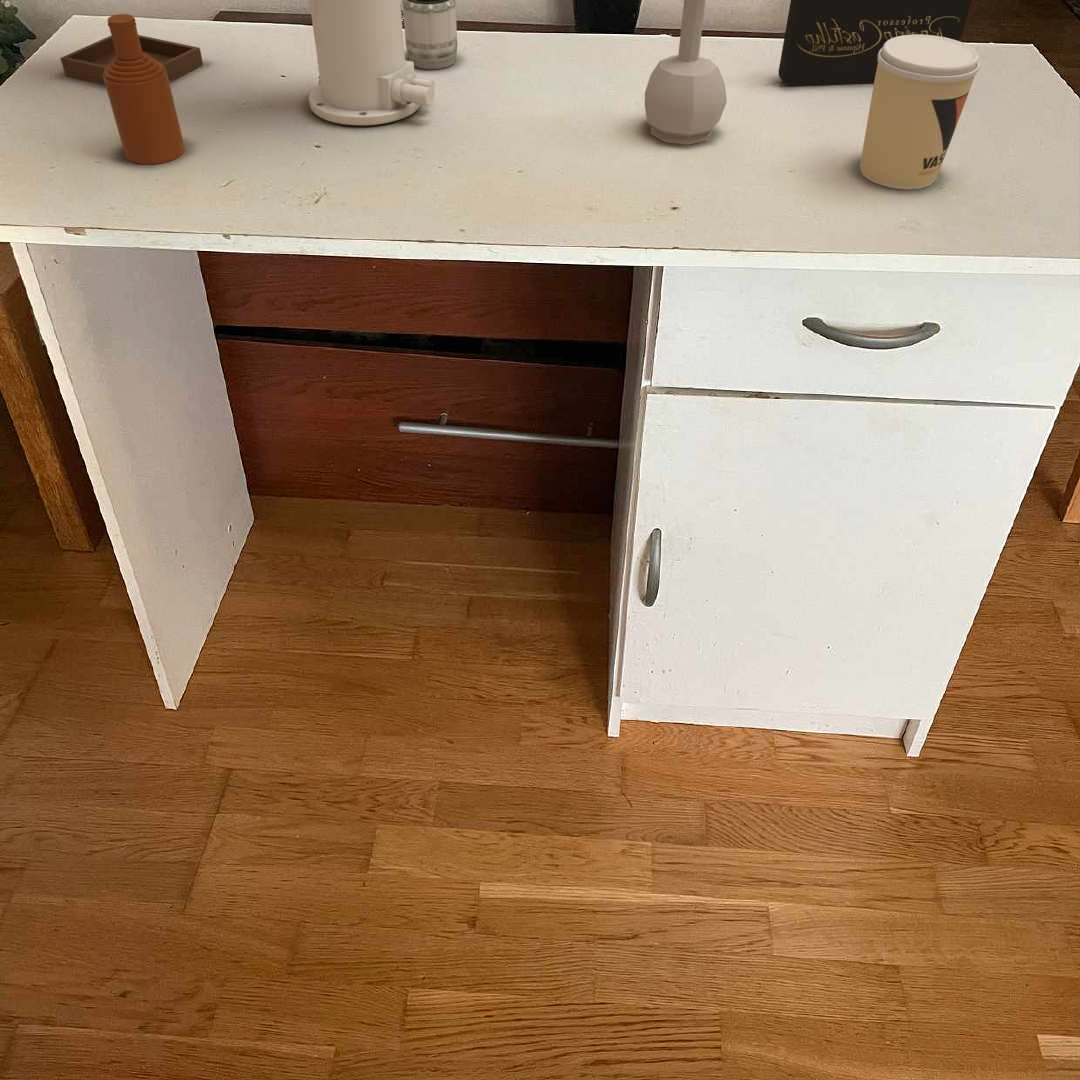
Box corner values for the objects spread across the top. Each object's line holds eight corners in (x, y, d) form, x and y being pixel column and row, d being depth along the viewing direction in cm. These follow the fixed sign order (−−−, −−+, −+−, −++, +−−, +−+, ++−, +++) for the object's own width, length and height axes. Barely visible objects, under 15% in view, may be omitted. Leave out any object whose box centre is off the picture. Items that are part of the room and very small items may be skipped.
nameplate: (942, 74, 124) (967, -16, 116) (948, 80, 122) (975, -11, 115) (776, 80, 121) (792, -11, 114) (781, 86, 120) (797, -5, 113)
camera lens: (456, 51, 127) (453, -18, 121) (459, 69, 123) (457, -1, 117) (405, 52, 126) (400, -17, 121) (407, 71, 122) (402, 0, 116)
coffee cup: (929, 202, 100) (967, 76, 91) (838, 178, 103) (866, 55, 95) (955, 167, 105) (993, 45, 97) (868, 145, 109) (898, 26, 100)
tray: (203, 64, 123) (199, 47, 121) (146, 94, 116) (141, 76, 115) (125, 48, 126) (120, 30, 125) (65, 75, 120) (59, 57, 118)
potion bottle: (730, 123, 112) (756, -60, 100) (705, 154, 107) (729, -35, 94) (656, 109, 115) (672, -71, 102) (627, 138, 109) (641, -48, 97)
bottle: (196, 146, 107) (166, 13, 97) (159, 169, 103) (123, 32, 93) (151, 135, 108) (117, 4, 99) (112, 157, 104) (73, 22, 95)
